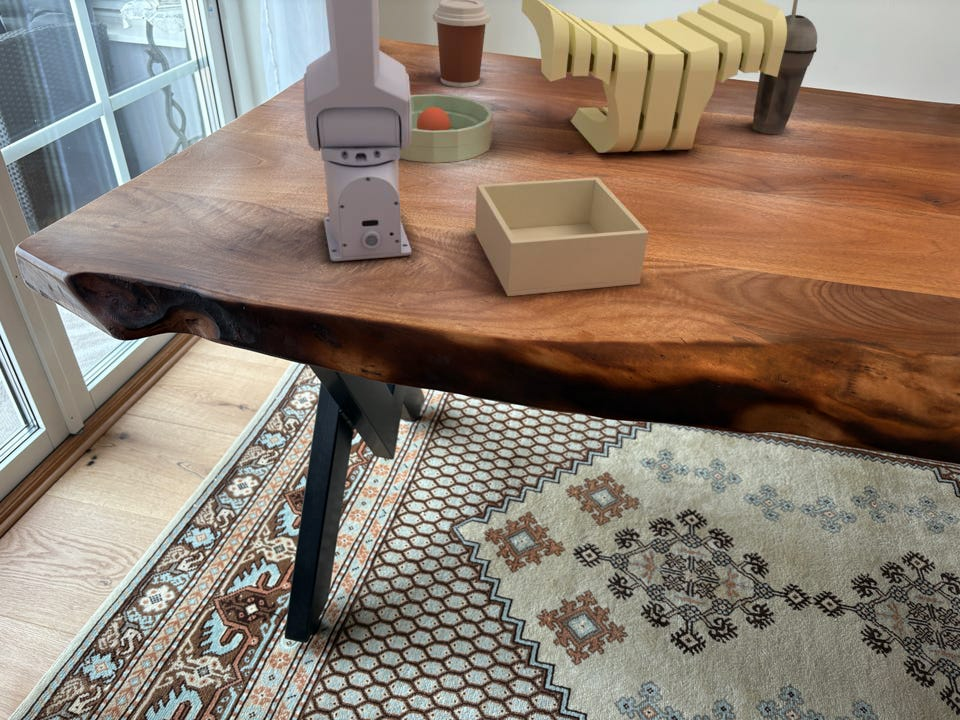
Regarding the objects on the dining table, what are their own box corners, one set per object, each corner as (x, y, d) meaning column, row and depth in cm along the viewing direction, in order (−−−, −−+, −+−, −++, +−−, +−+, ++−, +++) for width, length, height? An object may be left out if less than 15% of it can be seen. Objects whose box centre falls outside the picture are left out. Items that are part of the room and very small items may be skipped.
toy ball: (453, 146, 101) (453, 112, 98) (420, 148, 100) (419, 114, 97) (446, 134, 104) (446, 102, 102) (414, 136, 103) (414, 103, 101)
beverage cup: (804, 135, 111) (848, -17, 100) (764, 139, 109) (803, -15, 97) (771, 119, 117) (809, -27, 105) (732, 123, 115) (766, -25, 103)
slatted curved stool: (543, 163, 98) (556, 14, 88) (514, 122, 111) (522, -12, 101) (757, 155, 104) (793, 13, 94) (706, 116, 117) (733, -12, 106)
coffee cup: (421, 80, 127) (420, 1, 120) (457, 70, 132) (459, -6, 125) (462, 92, 122) (464, 11, 115) (498, 81, 128) (502, 3, 121)
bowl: (503, 163, 98) (505, 129, 95) (384, 170, 95) (383, 134, 92) (475, 124, 110) (476, 92, 107) (369, 129, 107) (368, 96, 104)
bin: (639, 284, 74) (649, 232, 71) (507, 296, 71) (511, 242, 68) (591, 224, 84) (598, 177, 81) (474, 233, 81) (476, 184, 78)
